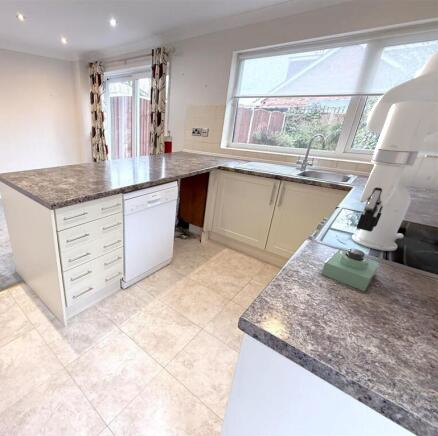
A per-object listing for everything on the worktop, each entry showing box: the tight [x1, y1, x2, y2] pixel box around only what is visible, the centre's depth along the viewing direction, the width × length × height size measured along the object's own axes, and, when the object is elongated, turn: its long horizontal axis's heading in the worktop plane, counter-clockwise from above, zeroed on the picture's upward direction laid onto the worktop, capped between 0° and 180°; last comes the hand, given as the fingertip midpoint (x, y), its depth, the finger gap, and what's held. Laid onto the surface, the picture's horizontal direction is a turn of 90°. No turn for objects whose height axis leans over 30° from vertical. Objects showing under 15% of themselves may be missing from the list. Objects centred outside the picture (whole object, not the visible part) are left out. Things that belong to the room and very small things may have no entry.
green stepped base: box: [320, 249, 380, 292], centre depth 70 cm, size 12×10×6 cm
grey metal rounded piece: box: [346, 248, 366, 261], centre depth 69 cm, size 4×4×2 cm
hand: (366, 226), depth 66 cm, fingers open, 4 cm apart
